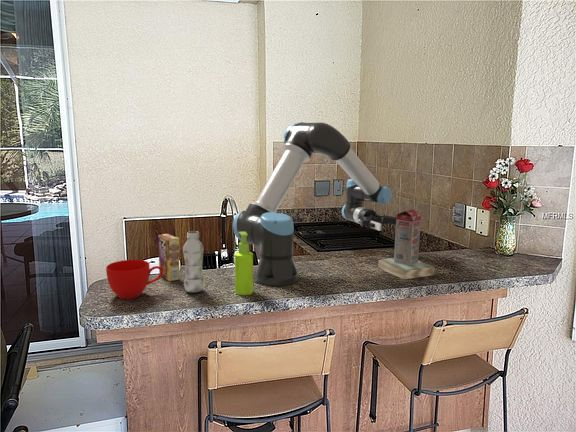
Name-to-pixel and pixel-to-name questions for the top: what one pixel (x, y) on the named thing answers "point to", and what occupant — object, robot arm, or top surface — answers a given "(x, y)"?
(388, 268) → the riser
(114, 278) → the ceramic cup
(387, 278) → the top surface
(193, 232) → the plastic bottle
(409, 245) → the juice carton
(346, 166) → the robot arm
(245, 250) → the soap dispenser
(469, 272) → the top surface
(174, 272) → the candy box
